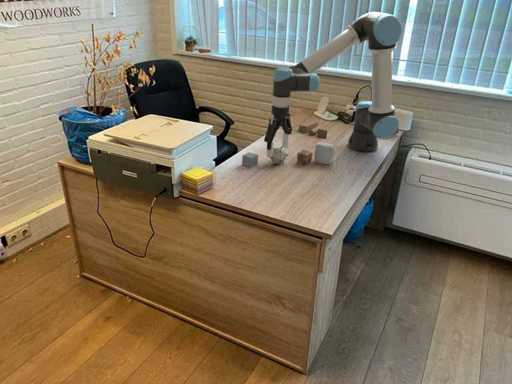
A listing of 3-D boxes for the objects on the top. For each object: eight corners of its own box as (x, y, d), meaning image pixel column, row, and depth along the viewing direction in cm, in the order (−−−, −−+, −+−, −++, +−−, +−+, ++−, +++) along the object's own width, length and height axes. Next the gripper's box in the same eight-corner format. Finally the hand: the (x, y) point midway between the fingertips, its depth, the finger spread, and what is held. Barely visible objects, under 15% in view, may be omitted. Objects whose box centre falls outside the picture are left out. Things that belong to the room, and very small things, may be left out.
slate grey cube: (257, 164, 196) (258, 154, 194) (251, 168, 192) (251, 158, 190) (248, 162, 198) (248, 152, 196) (242, 165, 194) (242, 155, 192)
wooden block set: (298, 123, 235) (313, 115, 249) (297, 133, 238) (312, 125, 251) (326, 129, 227) (340, 121, 240) (325, 139, 229) (339, 131, 243)
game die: (280, 172, 198) (286, 161, 189) (263, 164, 198) (268, 153, 189) (286, 157, 202) (292, 146, 194) (270, 150, 202) (275, 138, 193)
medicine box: (333, 162, 201) (335, 144, 197) (330, 165, 198) (332, 147, 194) (316, 158, 204) (318, 141, 200) (313, 162, 201) (315, 144, 197)
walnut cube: (311, 162, 201) (312, 152, 198) (306, 165, 197) (307, 155, 195) (301, 159, 203) (302, 149, 201) (296, 163, 199) (297, 152, 197)
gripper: (287, 98, 196) (284, 142, 206) (257, 109, 178) (255, 157, 187) (302, 101, 193) (298, 146, 202) (272, 113, 174) (269, 161, 183)
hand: (277, 151), depth 195 cm, fingers open, 13 cm apart
